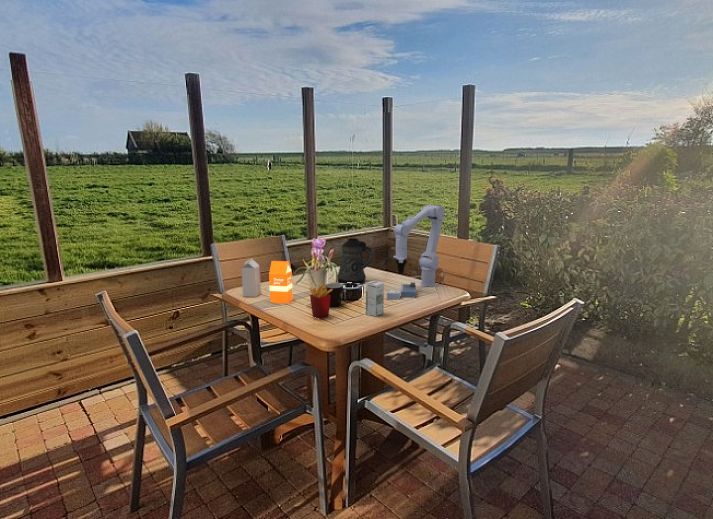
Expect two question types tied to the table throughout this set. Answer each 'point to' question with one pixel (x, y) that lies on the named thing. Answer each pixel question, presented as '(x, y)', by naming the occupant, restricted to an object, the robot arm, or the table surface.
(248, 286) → the milk carton
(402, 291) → the network switch box
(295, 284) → the table surface
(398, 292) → the light blue box
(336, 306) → the coffee mug
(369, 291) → the syrup box
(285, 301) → the orange juice
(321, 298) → the french fries
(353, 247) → the beer stein
